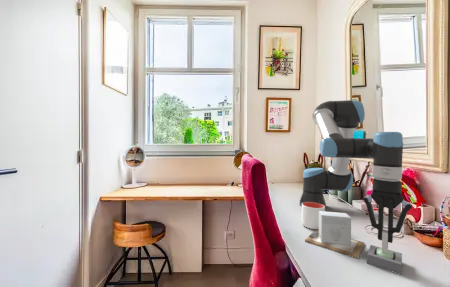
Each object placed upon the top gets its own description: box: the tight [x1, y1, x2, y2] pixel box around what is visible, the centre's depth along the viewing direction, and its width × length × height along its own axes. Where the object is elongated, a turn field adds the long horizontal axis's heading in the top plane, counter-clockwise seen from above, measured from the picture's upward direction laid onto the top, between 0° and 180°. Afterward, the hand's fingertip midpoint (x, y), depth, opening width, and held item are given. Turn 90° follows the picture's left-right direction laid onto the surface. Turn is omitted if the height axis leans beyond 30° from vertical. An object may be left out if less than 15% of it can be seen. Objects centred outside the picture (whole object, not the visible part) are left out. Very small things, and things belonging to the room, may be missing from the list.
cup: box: [300, 202, 326, 230], centre depth 99 cm, size 10×10×10 cm
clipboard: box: [304, 229, 365, 259], centre depth 83 cm, size 18×14×1 cm
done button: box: [376, 247, 393, 260], centre depth 70 cm, size 4×4×3 cm
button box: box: [366, 244, 403, 275], centre depth 70 cm, size 9×9×3 cm
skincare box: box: [319, 210, 352, 246], centre depth 83 cm, size 10×6×10 cm, turn 76°
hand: (384, 250), depth 70 cm, fingers closed
